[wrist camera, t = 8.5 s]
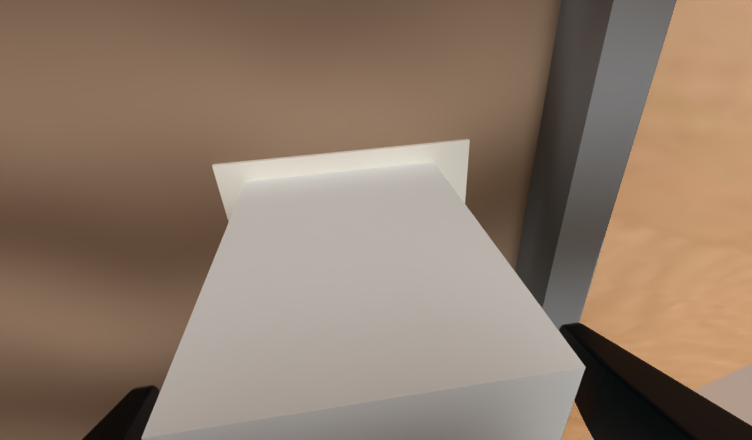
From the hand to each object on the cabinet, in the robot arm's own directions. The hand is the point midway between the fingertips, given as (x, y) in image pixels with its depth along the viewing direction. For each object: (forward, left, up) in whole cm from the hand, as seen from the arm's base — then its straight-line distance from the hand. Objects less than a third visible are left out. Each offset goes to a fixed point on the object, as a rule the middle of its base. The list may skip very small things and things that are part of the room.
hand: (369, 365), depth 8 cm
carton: (0, 0, -3) cm, 3 cm away
